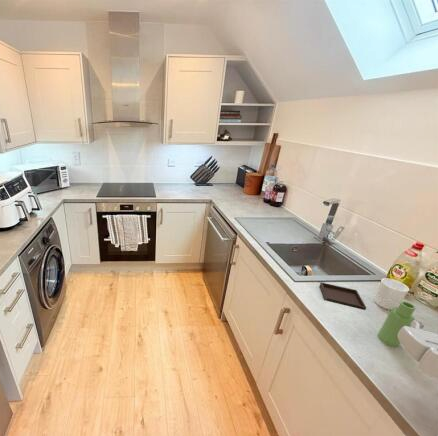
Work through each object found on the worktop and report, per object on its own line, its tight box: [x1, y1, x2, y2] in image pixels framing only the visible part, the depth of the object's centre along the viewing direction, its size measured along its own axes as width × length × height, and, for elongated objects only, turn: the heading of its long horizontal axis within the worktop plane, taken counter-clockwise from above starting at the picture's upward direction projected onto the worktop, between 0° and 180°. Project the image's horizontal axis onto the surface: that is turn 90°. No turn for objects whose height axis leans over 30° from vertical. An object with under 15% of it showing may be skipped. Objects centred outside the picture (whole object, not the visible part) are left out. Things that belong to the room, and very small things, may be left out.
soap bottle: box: [377, 300, 416, 348], centre depth 76 cm, size 5×5×17 cm
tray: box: [318, 282, 367, 311], centre depth 99 cm, size 13×11×2 cm
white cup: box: [373, 277, 410, 311], centre depth 95 cm, size 8×8×10 cm
